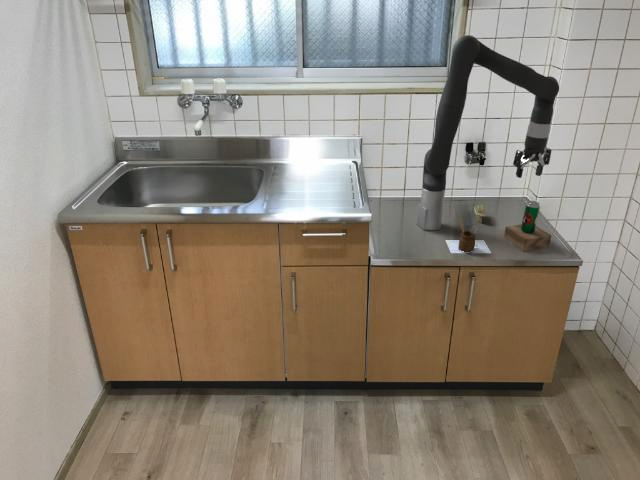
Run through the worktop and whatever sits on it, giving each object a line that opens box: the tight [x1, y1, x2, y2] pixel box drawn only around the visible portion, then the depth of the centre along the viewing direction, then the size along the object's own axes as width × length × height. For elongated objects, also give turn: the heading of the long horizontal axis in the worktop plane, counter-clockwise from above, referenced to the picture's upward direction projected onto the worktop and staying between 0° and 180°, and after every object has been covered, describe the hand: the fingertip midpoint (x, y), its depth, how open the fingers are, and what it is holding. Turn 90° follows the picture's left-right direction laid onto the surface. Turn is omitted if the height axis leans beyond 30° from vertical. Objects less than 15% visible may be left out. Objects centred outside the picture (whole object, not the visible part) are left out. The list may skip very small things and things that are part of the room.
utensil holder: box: [458, 218, 478, 253], centre depth 192 cm, size 6×6×12 cm
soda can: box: [521, 200, 541, 233], centre depth 195 cm, size 5×5×12 cm
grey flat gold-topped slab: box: [473, 203, 487, 224], centre depth 217 cm, size 12×18×7 cm, turn 171°
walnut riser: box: [503, 223, 552, 252], centre depth 199 cm, size 12×12×5 cm
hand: (528, 176), depth 192 cm, fingers open, 8 cm apart
